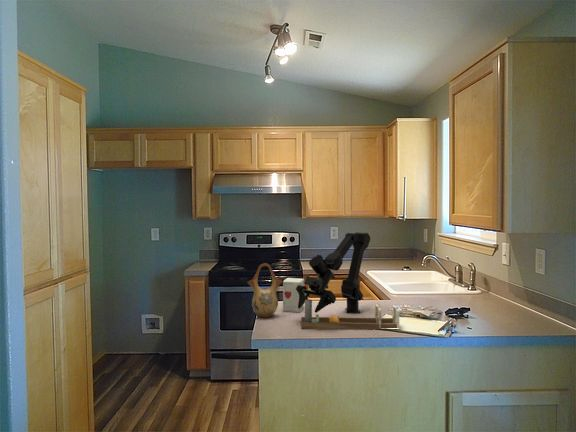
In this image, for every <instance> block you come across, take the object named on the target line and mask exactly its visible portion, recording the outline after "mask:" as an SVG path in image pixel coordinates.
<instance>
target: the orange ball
mask: <svg viewBox="0 0 576 432" xmlns="http://www.w3.org/2000/svg"><path fill="white" fill-rule="evenodd" d="M329 317H330V318H329V323H339V319H338V318H337V317H338V316H336V315H331V316H329Z"/></svg>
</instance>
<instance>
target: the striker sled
mask: <svg viewBox="0 0 576 432" xmlns="http://www.w3.org/2000/svg"><path fill="white" fill-rule="evenodd" d="M312 313H313V300H312V299H309V298H308V299H307V300H305V303H304V317H305V322H319V317H320V316H319V314H317V313H316V314H315V317H316V319H312V317H313V314H312Z"/></svg>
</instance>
